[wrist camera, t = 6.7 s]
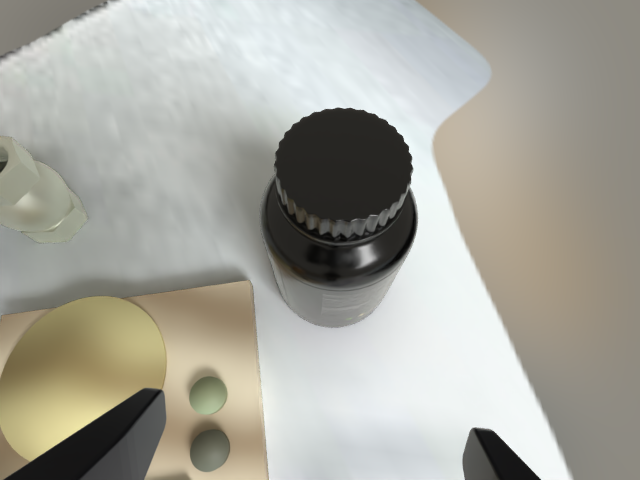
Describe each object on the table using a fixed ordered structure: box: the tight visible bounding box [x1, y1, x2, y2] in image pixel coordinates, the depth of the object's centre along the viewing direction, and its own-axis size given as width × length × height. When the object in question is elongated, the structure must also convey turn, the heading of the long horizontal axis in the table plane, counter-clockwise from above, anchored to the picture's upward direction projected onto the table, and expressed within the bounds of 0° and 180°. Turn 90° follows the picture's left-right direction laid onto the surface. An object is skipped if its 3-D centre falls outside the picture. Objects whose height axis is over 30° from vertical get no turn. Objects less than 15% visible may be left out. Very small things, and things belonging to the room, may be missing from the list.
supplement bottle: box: [260, 108, 418, 328], centre depth 19 cm, size 7×7×12 cm
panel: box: [0, 280, 269, 480], centre depth 19 cm, size 16×14×2 cm
